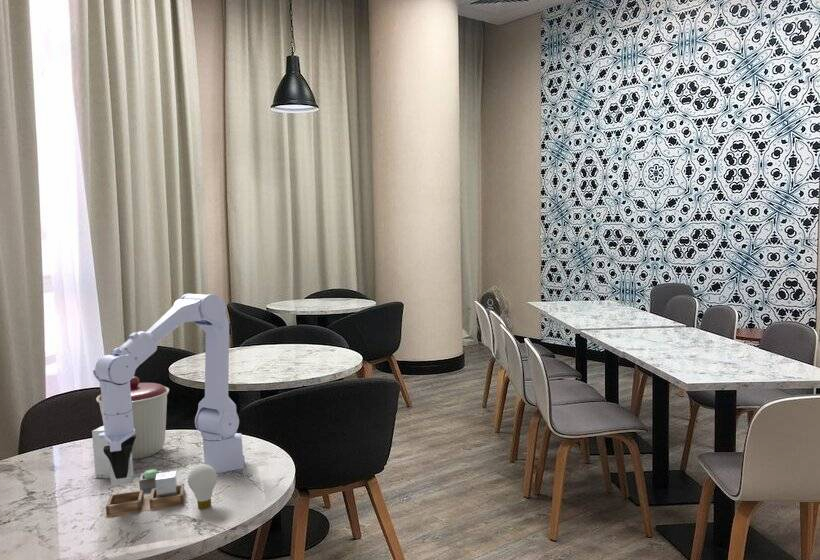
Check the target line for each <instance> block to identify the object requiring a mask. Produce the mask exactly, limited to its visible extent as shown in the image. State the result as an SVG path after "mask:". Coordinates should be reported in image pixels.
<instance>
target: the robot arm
mask: <svg viewBox="0 0 820 560" xmlns="http://www.w3.org/2000/svg"><path fill="white" fill-rule="evenodd" d="M226 305H227V304H226V302H225V300H223V299H222V298H221V297H220V296H218V295H217V294H214V293H211V294H200V293H190V292H189V293H185V294H183V295H182V296H180V298H178V299H176V300H175V301H174V303H173V306H171V308H170V309H169V310H167V311H166V312H165V313H164V314H163V315H162V316H161V317H160V318H159V319H158V320H157V321H156V322H155V323H153V325H152V326H151V327H149V328H148V330H146V331H144V330H143V331H141V330H140V331H137V332H135V331H134V332H132V333H130V334H129V335H128V336H129V338H128V339H127V340H126V341H124V342H123V343H122V344H121V345H119V346H118V347H115V348H114V349H112V352H111V354H105V355H103V356H101V357H100V358H99V359H98V360H97V362H96V364H95V368H94V369H93V370H92V372H93V373H92V375H94V378H95V379H96V380H97V381H98V382H99V388H100V395H101V397H102V409H103V419H102V421H103V420H104V424H103V426H104V432H103V433H100V434H99V438H104V439H106V440H107V441H108V443H109V445H110V446H104V448H103V451H104V453H105V455H106V456H107V457H108V459H109V461H110V463H111V465H112V468H113V472H114V475H115V477H116V479H120V478H126V477H127V474H128V464H129V456H130V452H132V447H133V443H134V441H135V439H136V434H135V429H134V425H133V413H132V401H131V389H130V380H131V379H132V378H133V376H135V374H136V371H137V368H139V366H140V365H141V364H143V363H144V362H145V361H146V360H147V359H148V358H149V357H151V356H152V355H154V354H155V353H156V352H157V350H158V343H159V342H160V341H162V340H163V339H164V338H165V337H167V336H168V335H169V334H171V333H172V332H173V331H174V330H176V329H177V328H178V327H180V326H181V325H183V324H185V323H191V322H192V323H194V324H195V325H197V326H198V327H199V328H200V329H202V331H204V333H205V350H204V352H205V354H204V355H205V358H204V360H205V361H204V362H205V363H204V366H205V367H204V370H205V371H204V397H203V398H202V399H201V400H200V401H199V402H198V404H197V405H198V407H197V412H196V415H195V417H194V425H195V428H196V430H197V431H199V432H200V437H202V445H203V447H202V449H203V460H204V461H203V462H204V463H203V464H207V465H209V466H211V467H213V468H214V470H215V471H216V474H220V473H221V474H222V473H227V472H230V471H235V470H236V471H237V470H243V469H245V465H244V464H245V462H246V461H245V455H244V453H243V452H244V450H243V437H242V433H240V432H239V433H236V432H237V431H238V429H239V425H240V418H239V414H238V412H237V404H236V403H235V401H233V400H232V399H231V398H230V396H229V379H230V377H229V370H230V369H229V367H230V366H229V365H230V322H229V318H228V316H227V314H226V313H227V306H226Z"/></svg>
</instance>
